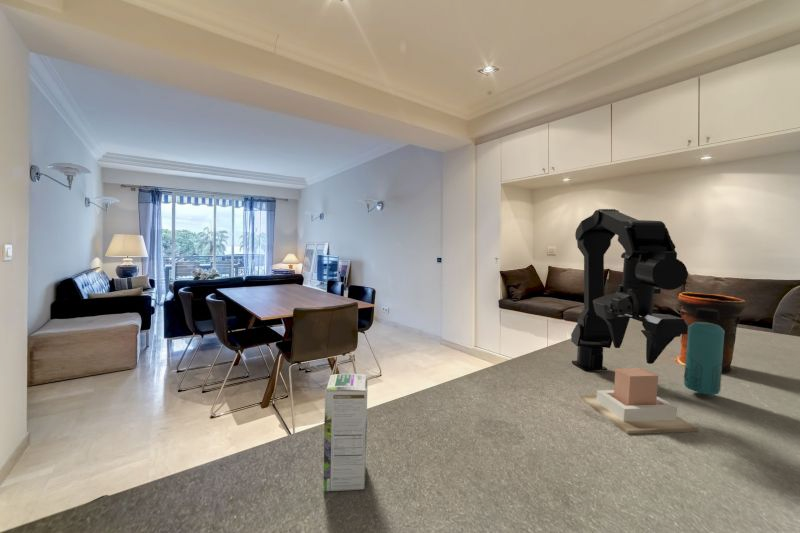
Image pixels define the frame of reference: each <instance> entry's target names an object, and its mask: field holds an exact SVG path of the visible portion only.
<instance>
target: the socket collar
mask: <svg viewBox="0 0 800 533" xmlns="http://www.w3.org/2000/svg"><path fill="white" fill-rule="evenodd" d="M596 395H597V398H596V402H597V403H599V404H600V405H601V406H603V407H604V408H606V409H607V410H608V411H610V412H611V413H612V414H614V415H615V416H617V417H618V418H619V419H621V420H622V421H623V422H627V421H656V420H676V415H677V414H678V412H677V411H678V407H677V406H675V405H673V404H672V403H670V402H668V401H666V400H664V399H663V398H661V397H659V396H657V400H656V405H635V406H625V405H624V404H622V403H621V402H619V401H618V400H616V399H615V398H614V389H603V390H601V389H600V390H596Z"/></svg>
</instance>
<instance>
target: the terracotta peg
mask: <svg viewBox="0 0 800 533" xmlns="http://www.w3.org/2000/svg"><path fill="white" fill-rule="evenodd" d="M613 384H614V386H613V387H614V388H613V390H614V398H615V399H616V400H618V401H619V402H621V403H622V404H624V405H625V406H635V405H656V400H657V397H658V396H657V395H658V386H659V375H658V374H656V373H654V372H652V371H650V370H648V369H646V368H643V367H631V368H626V367H625V368H615V370H614V383H613Z"/></svg>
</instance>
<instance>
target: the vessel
mask: <svg viewBox="0 0 800 533" xmlns="http://www.w3.org/2000/svg"><path fill="white" fill-rule="evenodd" d="M677 301H678V303H679V304H680V306H682V309H681V310H680V312H679V314H680V318H683V319H684V320H685V321H686V322H687V323H688V326H689V325H691V324H692V323H694V322H706V323H712V324H716V325H719V326H720V327H721V328H722V329H723V330H724V331H725V333H724V344H723V360H722V361H723V362H722V364H723V365H722V367H723V368H722V372H721V374H737V371H738V369H737V368H736V367H733V366H731V364H732V363H733V362H732V361H733V357H734V349H735V345H736V344H735V343H736V338H737V327H738V324H740V321H741V314H742V312H743V311H744V310H745V309H746V307H747V301H746V300H745V299H743V298H742V299H741V298H739V297H734V296H728V295H723V294H715V293H714V294H710V293H702V292H701V293H700V292H683V291H682V292H681V293H679V294H678V296H677ZM697 308H707V309H714V310H718V311H719V320H706V319H700V318H696V317H695V313H696V309H697ZM680 337H681V338H680V340H679V341H680V355H679V356H675V357H674V361H675V362H677V363H678V364H680V365H682V366H685V365H686V362H685V361H686V357H685V356H686V351H687V346H686V345H687V341H688V329H687V334H681V336H680Z"/></svg>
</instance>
